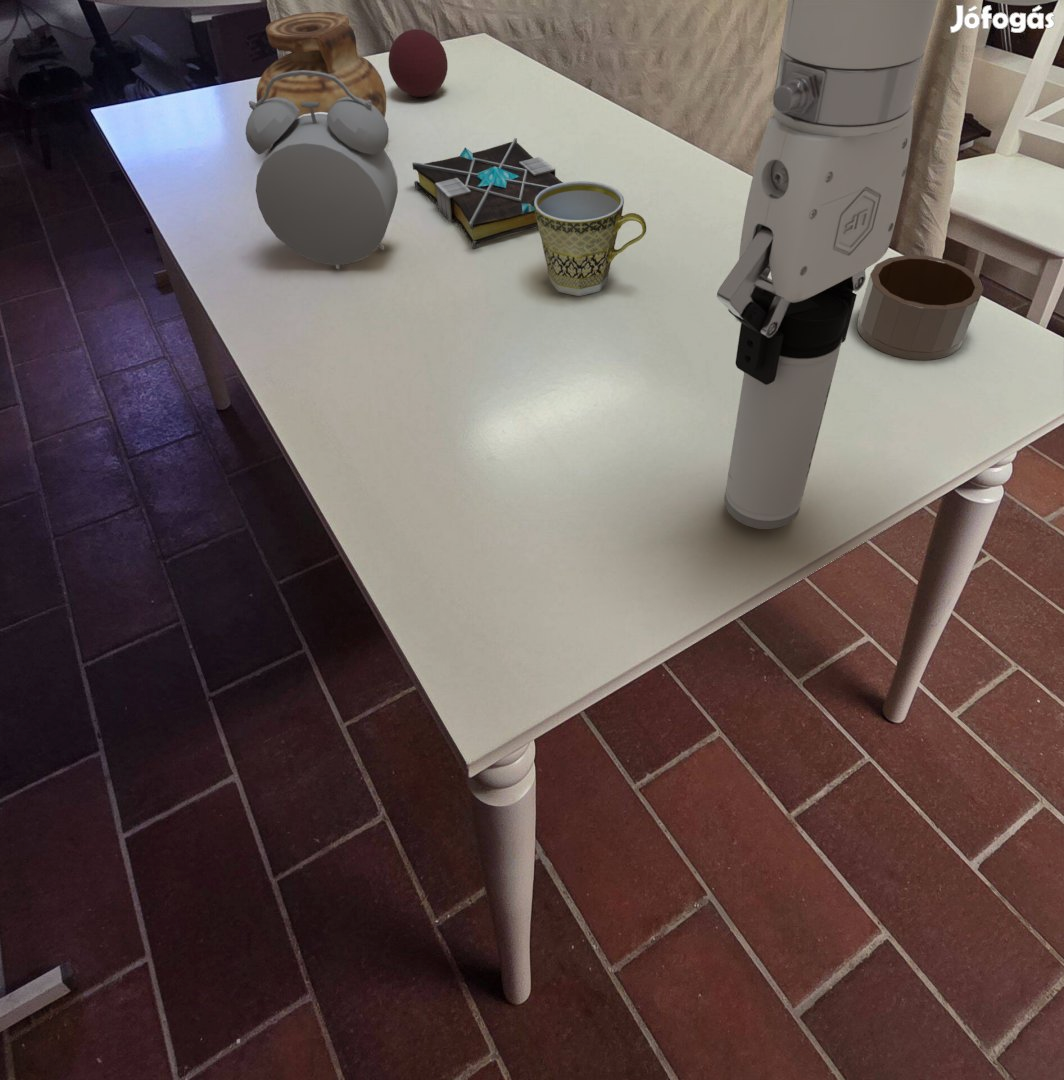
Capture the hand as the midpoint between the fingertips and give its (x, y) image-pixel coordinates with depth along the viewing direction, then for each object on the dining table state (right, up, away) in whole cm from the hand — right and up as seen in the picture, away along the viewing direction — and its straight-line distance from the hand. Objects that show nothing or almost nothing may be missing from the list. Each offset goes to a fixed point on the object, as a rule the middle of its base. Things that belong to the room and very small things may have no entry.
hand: (790, 353), depth 59 cm
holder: (+22, +9, +30) cm, 39 cm away
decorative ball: (-38, +64, +85) cm, 113 cm away
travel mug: (+1, -11, +11) cm, 15 cm away
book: (-23, +33, +55) cm, 69 cm away
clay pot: (-50, +47, +70) cm, 98 cm away
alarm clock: (-43, +22, +46) cm, 66 cm away
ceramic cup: (-12, +17, +40) cm, 45 cm away
